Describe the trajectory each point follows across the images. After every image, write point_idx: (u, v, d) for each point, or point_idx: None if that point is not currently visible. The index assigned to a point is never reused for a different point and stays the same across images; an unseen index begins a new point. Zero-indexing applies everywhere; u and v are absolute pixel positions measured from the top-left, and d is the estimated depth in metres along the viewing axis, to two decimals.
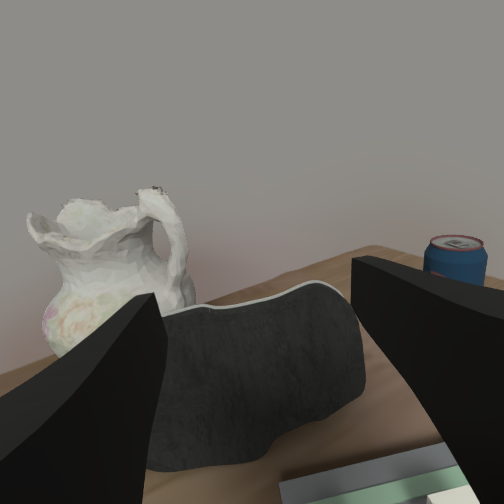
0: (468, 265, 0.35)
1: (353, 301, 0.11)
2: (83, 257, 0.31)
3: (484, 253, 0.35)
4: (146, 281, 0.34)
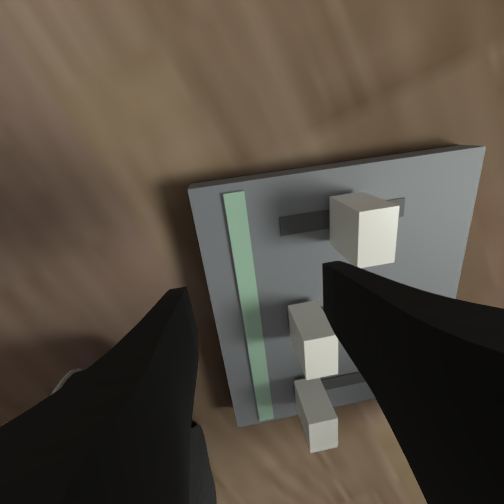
0: None
1: (325, 307, 0.10)
2: None
3: None
4: None
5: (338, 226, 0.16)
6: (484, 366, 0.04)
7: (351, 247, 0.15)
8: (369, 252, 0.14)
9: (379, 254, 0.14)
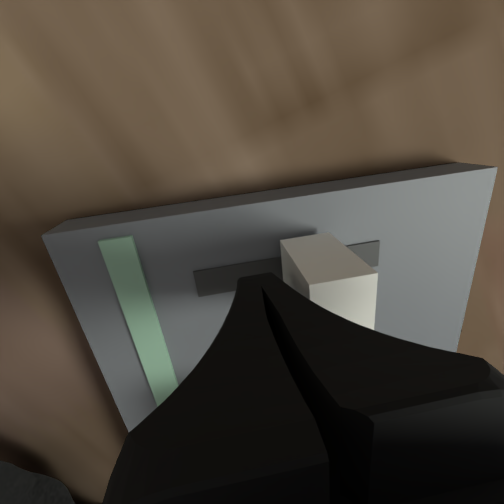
0: None
1: None
2: None
3: None
4: None
5: None
6: (322, 400, 0.04)
7: None
8: None
9: None
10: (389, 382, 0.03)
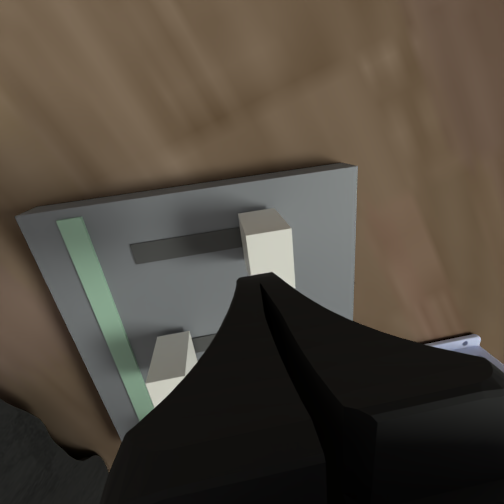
0: None
1: None
2: None
3: None
4: None
5: (244, 247, 0.15)
6: (324, 400, 0.04)
7: (249, 271, 0.13)
8: None
9: None
10: (392, 381, 0.03)
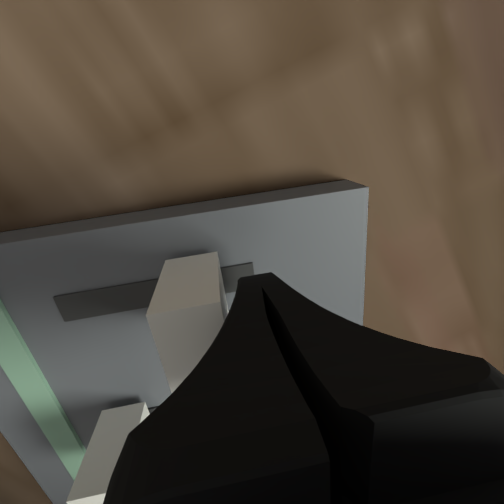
0: None
1: None
2: None
3: None
4: None
5: None
6: (322, 400, 0.04)
7: None
8: (186, 371, 0.08)
9: None
10: (389, 382, 0.03)
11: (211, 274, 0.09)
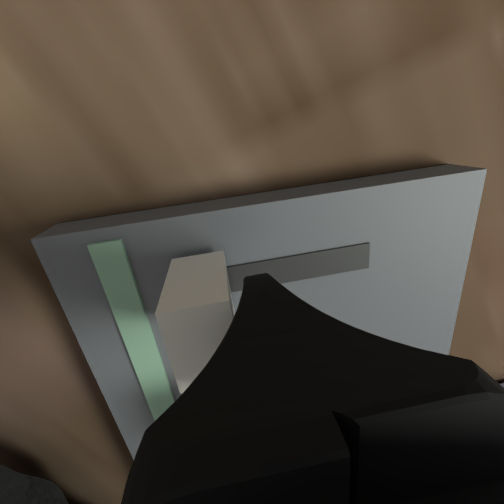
0: None
1: None
2: None
3: None
4: None
5: None
6: None
7: None
8: (194, 370, 0.08)
9: None
10: (377, 384, 0.03)
11: (218, 273, 0.09)
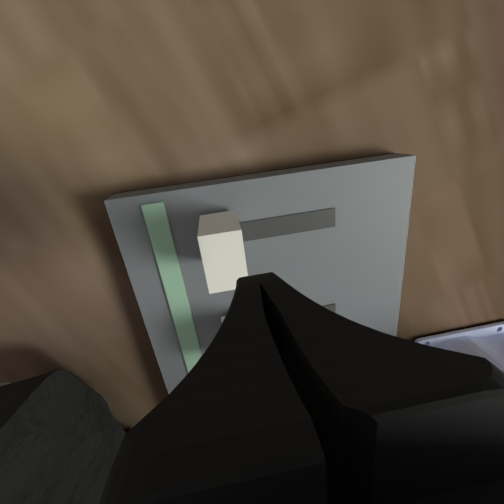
0: None
1: None
2: None
3: None
4: None
5: None
6: (324, 400, 0.04)
7: None
8: (219, 277, 0.13)
9: (230, 279, 0.14)
10: (392, 382, 0.03)
11: (233, 219, 0.14)
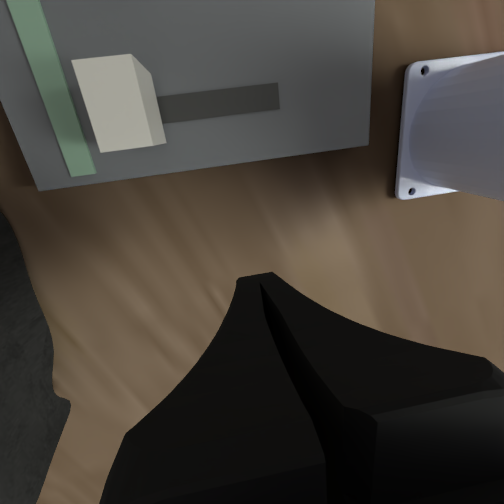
0: None
1: None
2: None
3: None
4: None
5: None
6: (324, 400, 0.04)
7: None
8: None
9: None
10: (392, 381, 0.03)
11: None
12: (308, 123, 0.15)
